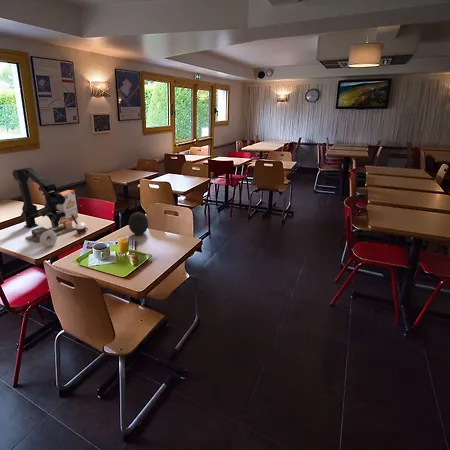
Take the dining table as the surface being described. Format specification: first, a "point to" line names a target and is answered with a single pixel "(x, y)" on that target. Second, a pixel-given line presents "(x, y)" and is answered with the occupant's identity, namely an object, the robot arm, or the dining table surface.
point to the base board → (42, 229)
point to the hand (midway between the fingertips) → (55, 225)
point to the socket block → (66, 224)
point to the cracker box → (68, 205)
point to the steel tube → (54, 227)
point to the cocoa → (80, 226)
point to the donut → (45, 235)
